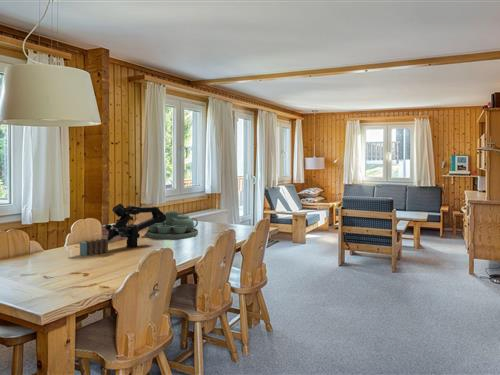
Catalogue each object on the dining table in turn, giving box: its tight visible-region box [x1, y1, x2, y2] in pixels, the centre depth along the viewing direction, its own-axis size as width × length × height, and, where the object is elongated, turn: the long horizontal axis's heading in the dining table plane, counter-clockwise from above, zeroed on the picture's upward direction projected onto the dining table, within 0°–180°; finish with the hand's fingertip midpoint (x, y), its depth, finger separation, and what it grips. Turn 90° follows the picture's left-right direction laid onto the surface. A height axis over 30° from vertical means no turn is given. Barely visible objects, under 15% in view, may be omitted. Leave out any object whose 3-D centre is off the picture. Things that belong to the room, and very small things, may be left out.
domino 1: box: [84, 240, 93, 256], centre depth 263 cm, size 2×5×8 cm, turn 51°
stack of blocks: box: [101, 222, 128, 244], centre depth 308 cm, size 21×6×12 cm, turn 156°
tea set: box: [145, 210, 199, 240], centre depth 336 cm, size 40×40×16 cm
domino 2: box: [90, 239, 99, 255], centre depth 266 cm, size 2×5×8 cm, turn 51°
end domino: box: [79, 241, 88, 257], centre depth 261 cm, size 2×5×8 cm, turn 52°
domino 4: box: [100, 238, 109, 253], centre depth 272 cm, size 2×5×8 cm, turn 51°
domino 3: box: [95, 238, 104, 254], centre depth 269 cm, size 2×5×8 cm, turn 51°
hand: (107, 240), depth 273 cm, fingers closed
